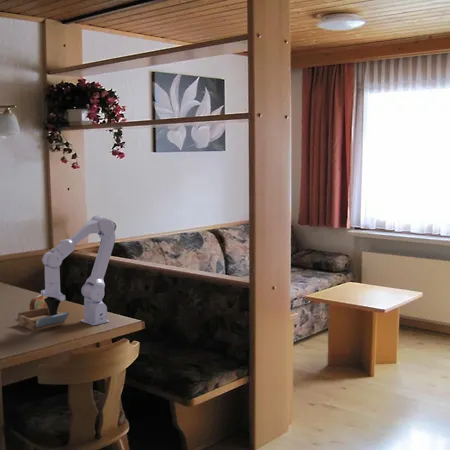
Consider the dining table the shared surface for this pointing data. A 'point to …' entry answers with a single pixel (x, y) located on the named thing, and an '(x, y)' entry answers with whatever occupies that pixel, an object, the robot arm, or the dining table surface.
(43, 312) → the light wood shallow box
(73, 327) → the dining table surface
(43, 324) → the panel
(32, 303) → the tin
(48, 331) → the dining table surface
